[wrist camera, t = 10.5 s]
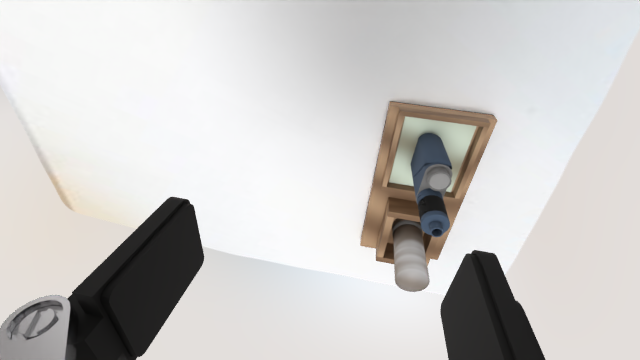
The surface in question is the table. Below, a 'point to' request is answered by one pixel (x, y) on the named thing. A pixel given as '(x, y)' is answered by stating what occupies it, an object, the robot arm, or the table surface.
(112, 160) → the table surface
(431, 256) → the holder
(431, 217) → the vaping device
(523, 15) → the table surface
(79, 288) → the robot arm
